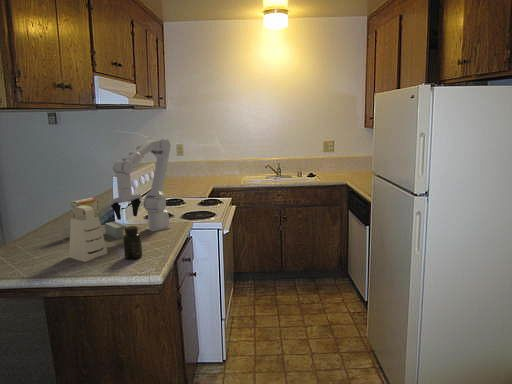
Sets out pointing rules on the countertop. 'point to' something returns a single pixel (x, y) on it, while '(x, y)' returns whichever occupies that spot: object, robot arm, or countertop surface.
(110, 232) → the block
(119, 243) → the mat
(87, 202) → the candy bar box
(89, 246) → the grater
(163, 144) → the robot arm
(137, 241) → the supplement bottle
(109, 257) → the countertop surface
